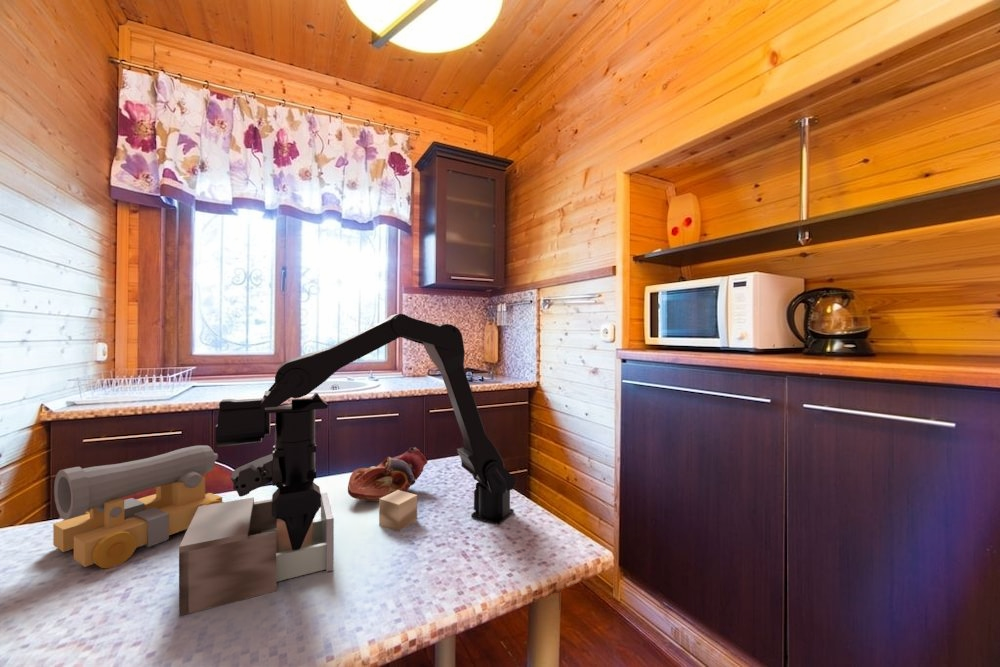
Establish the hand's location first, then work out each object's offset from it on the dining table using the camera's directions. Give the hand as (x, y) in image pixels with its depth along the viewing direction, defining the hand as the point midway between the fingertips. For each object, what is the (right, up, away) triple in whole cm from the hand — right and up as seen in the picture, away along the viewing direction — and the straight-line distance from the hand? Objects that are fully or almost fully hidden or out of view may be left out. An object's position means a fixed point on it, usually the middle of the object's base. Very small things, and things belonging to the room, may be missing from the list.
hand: (295, 535), depth 65 cm
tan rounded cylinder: (0, -3, 0) cm, 3 cm away
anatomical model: (+7, -4, +26) cm, 27 cm away
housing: (-7, -4, -4) cm, 9 cm away
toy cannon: (-31, -4, +9) cm, 33 cm away
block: (+13, -4, +13) cm, 19 cm away
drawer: (0, -4, 0) cm, 4 cm away
